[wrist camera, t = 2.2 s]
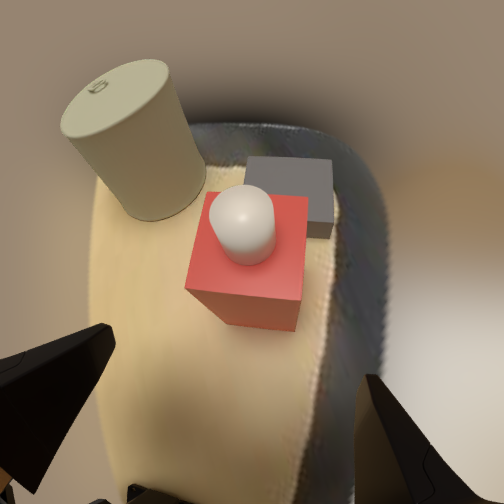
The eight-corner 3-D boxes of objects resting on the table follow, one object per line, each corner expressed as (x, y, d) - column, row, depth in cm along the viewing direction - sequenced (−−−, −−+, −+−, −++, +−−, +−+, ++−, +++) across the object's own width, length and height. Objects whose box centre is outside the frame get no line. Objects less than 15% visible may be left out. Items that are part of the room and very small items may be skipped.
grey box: (328, 240, 23) (333, 222, 20) (243, 235, 24) (238, 217, 21) (328, 181, 25) (331, 160, 23) (252, 177, 26) (248, 156, 24)
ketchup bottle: (294, 331, 20) (304, 282, 9) (226, 323, 21) (162, 268, 10) (300, 266, 22) (311, 163, 11) (236, 261, 23) (193, 159, 12)
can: (166, 136, 30) (126, 50, 19) (225, 168, 27) (194, 61, 16) (106, 194, 28) (43, 117, 17) (158, 239, 25) (83, 149, 14)
